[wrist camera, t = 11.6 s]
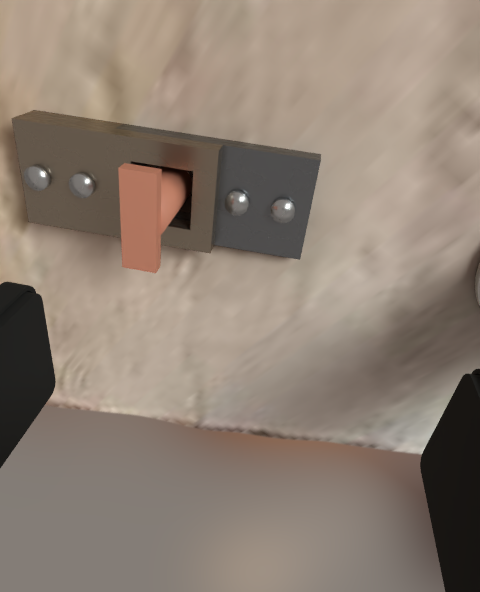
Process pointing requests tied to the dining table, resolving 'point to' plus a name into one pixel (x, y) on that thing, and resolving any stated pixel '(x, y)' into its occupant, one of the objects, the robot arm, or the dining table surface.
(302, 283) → the dining table surface
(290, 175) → the studded slotted plate
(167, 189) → the orange t-shaped block
